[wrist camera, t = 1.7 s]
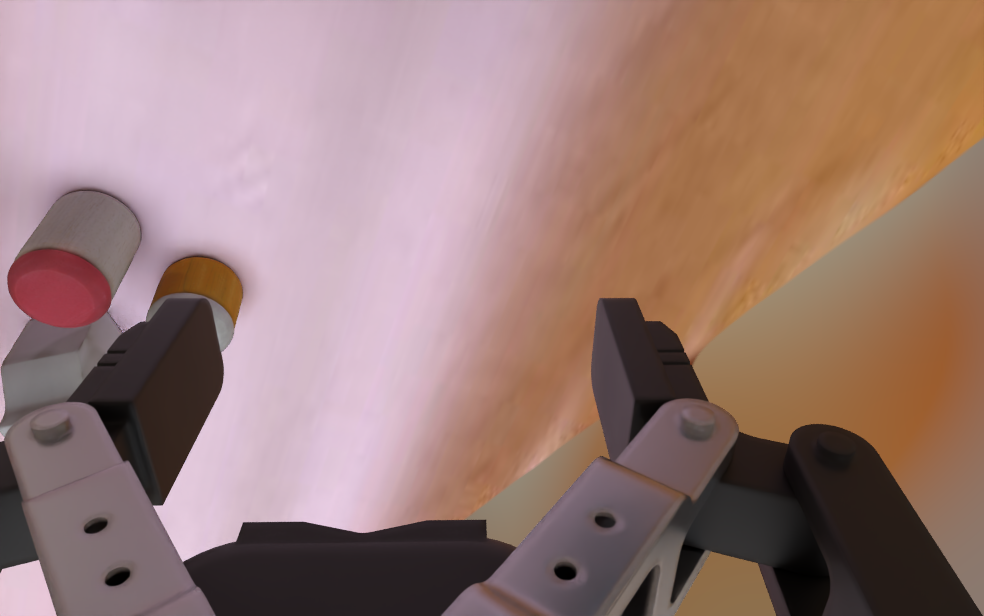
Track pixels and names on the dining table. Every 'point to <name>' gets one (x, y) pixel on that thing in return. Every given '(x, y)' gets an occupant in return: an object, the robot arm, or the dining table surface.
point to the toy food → (89, 298)
